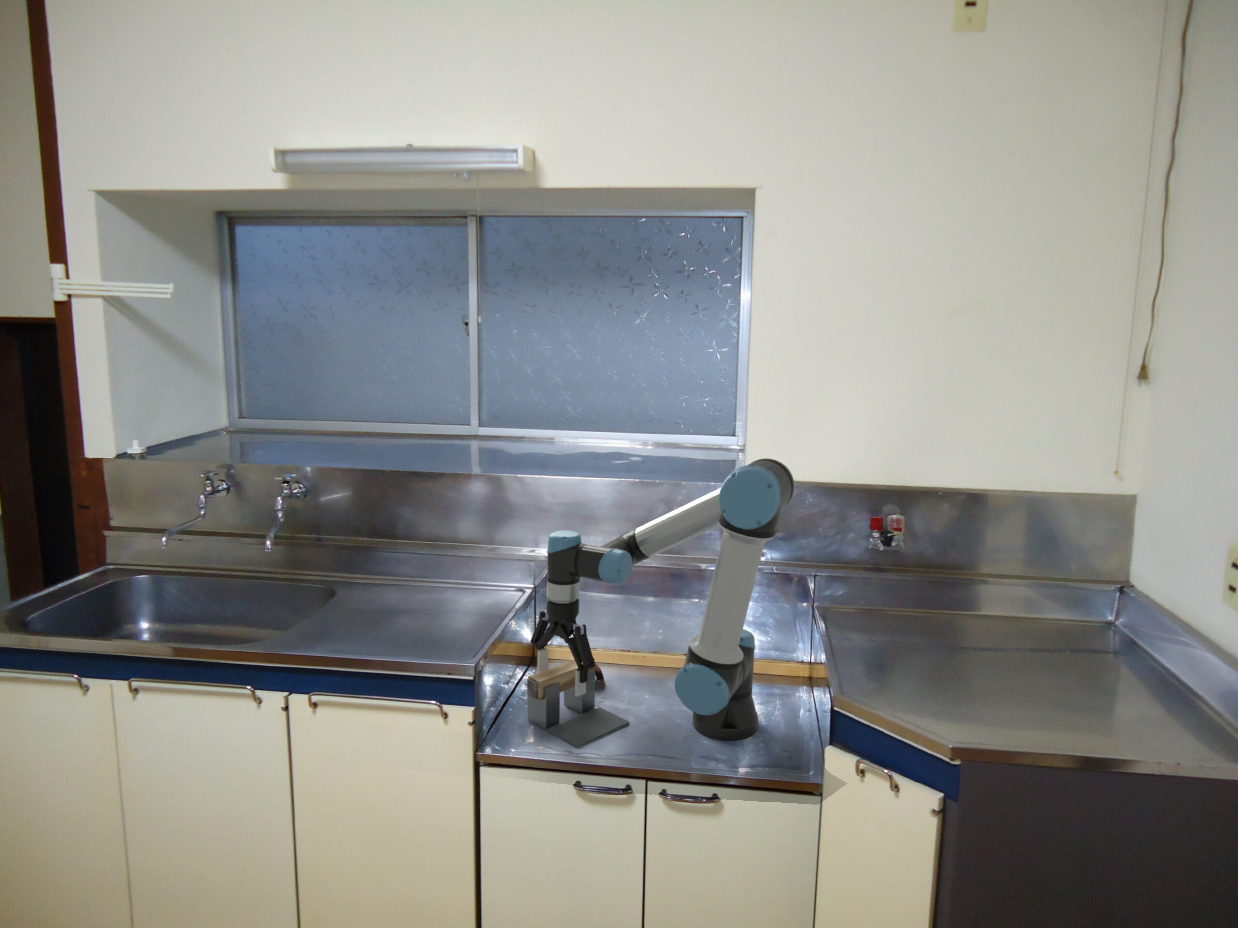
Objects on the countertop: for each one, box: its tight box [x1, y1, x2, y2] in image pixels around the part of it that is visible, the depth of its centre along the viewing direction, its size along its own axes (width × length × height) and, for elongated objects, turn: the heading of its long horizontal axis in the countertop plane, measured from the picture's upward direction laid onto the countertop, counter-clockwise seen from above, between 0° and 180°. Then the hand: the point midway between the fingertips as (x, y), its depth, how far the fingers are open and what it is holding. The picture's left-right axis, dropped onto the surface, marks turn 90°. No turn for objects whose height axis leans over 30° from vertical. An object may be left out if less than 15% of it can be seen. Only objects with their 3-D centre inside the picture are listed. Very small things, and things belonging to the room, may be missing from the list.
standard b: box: [527, 682, 561, 731], centre depth 187 cm, size 7×4×10 cm, turn 45°
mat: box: [547, 706, 630, 749], centre depth 185 cm, size 10×16×1 cm, turn 135°
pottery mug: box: [593, 657, 606, 690], centre depth 208 cm, size 12×10×8 cm
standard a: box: [563, 669, 596, 715], centre depth 194 cm, size 7×4×10 cm, turn 45°
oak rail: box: [526, 659, 596, 700], centre depth 190 cm, size 4×18×4 cm, turn 135°
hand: (560, 684), depth 190 cm, fingers open, 13 cm apart
